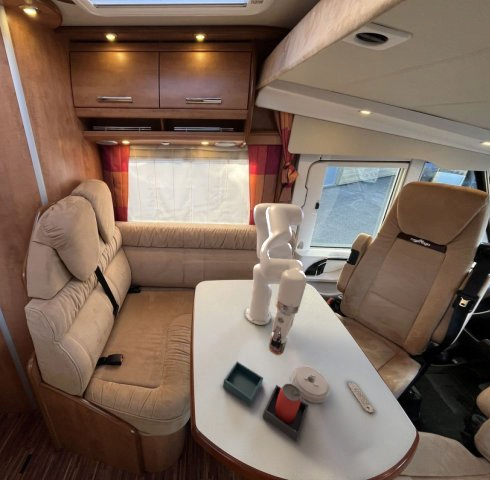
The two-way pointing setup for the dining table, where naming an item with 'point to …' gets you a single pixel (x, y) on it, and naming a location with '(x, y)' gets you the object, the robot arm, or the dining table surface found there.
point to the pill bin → (243, 383)
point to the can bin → (287, 428)
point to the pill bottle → (282, 346)
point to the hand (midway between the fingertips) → (278, 340)
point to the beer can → (288, 403)
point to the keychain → (360, 397)
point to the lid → (310, 384)
